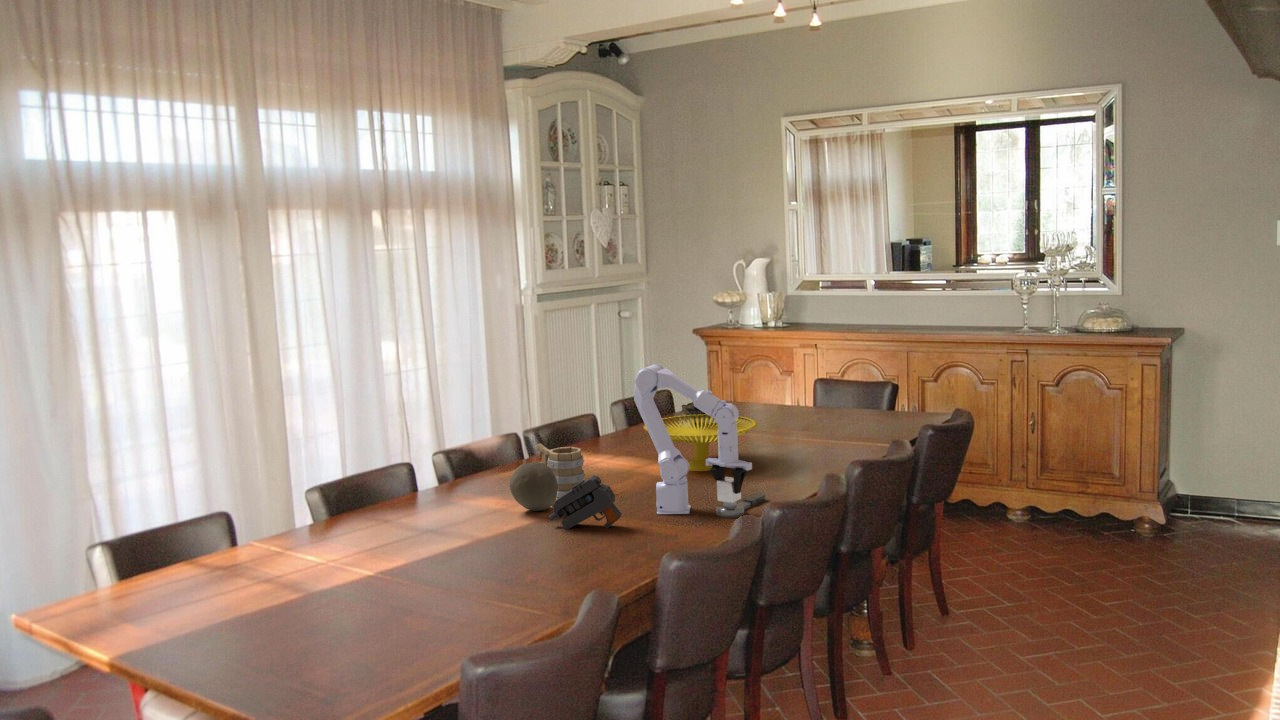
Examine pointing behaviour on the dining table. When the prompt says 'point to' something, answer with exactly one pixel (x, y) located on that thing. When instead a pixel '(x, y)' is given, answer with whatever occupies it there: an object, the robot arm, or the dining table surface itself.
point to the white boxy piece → (727, 490)
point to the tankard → (564, 466)
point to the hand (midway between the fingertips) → (729, 491)
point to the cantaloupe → (534, 486)
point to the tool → (586, 503)
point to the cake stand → (700, 436)
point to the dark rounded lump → (692, 410)
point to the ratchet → (738, 506)
